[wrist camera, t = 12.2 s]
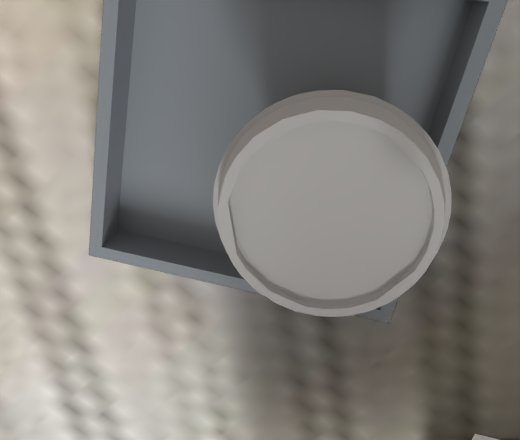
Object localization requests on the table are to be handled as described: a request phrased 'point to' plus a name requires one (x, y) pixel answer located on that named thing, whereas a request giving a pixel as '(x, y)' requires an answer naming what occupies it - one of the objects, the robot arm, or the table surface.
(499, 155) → the table surface
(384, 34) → the tray
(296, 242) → the disposable coffee cup
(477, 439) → the robot arm
